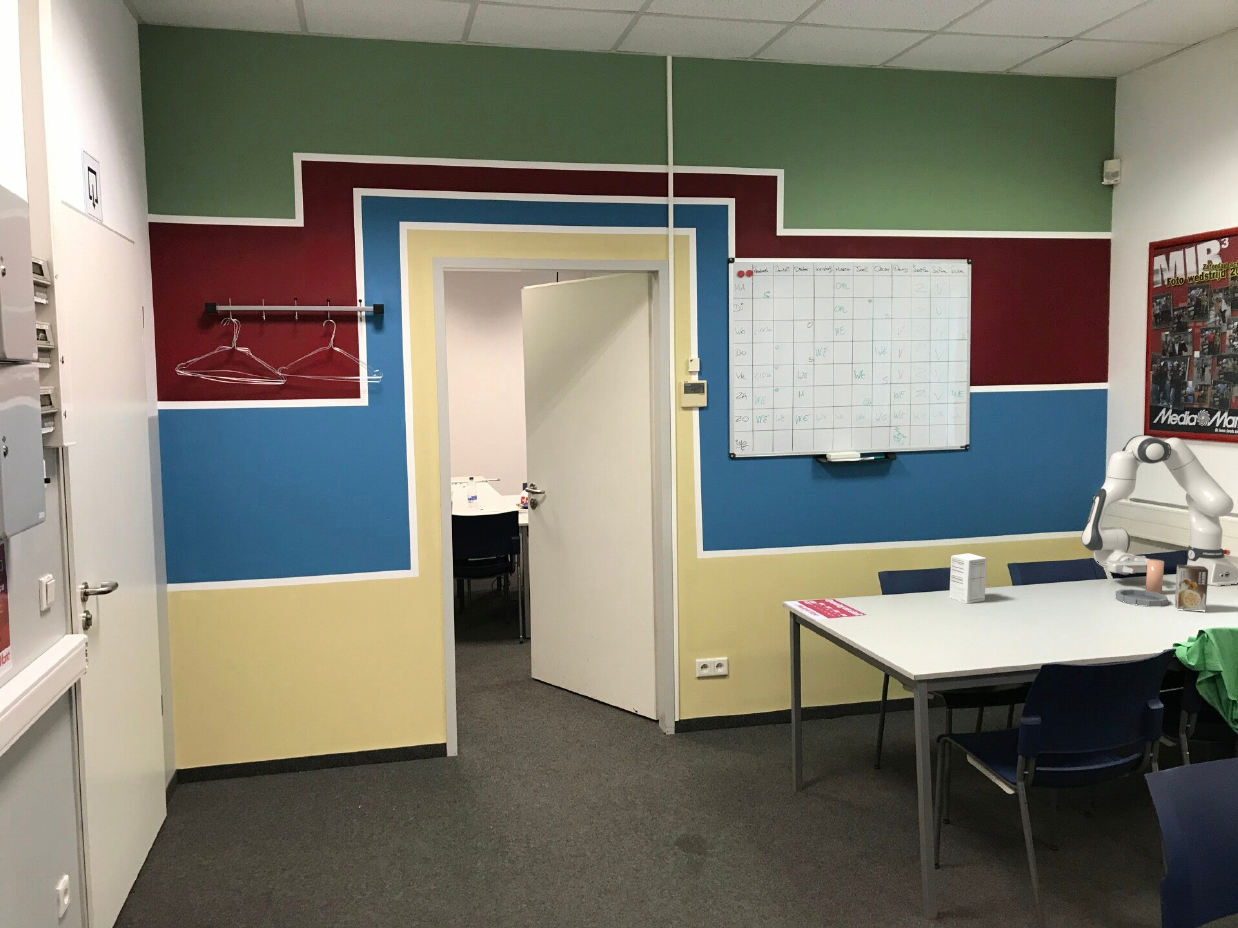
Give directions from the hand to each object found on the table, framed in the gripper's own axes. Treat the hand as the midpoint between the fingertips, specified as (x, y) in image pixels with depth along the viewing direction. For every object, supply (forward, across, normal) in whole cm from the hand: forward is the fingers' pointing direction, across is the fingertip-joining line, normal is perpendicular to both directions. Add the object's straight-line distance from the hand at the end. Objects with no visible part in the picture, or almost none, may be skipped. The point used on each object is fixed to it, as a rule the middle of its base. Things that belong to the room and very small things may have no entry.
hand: (1145, 571), depth 366 cm
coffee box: (+29, -2, +8) cm, 30 cm away
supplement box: (+10, -78, +8) cm, 79 cm away
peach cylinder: (+6, 0, +8) cm, 9 cm away
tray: (+16, -12, +8) cm, 21 cm away
